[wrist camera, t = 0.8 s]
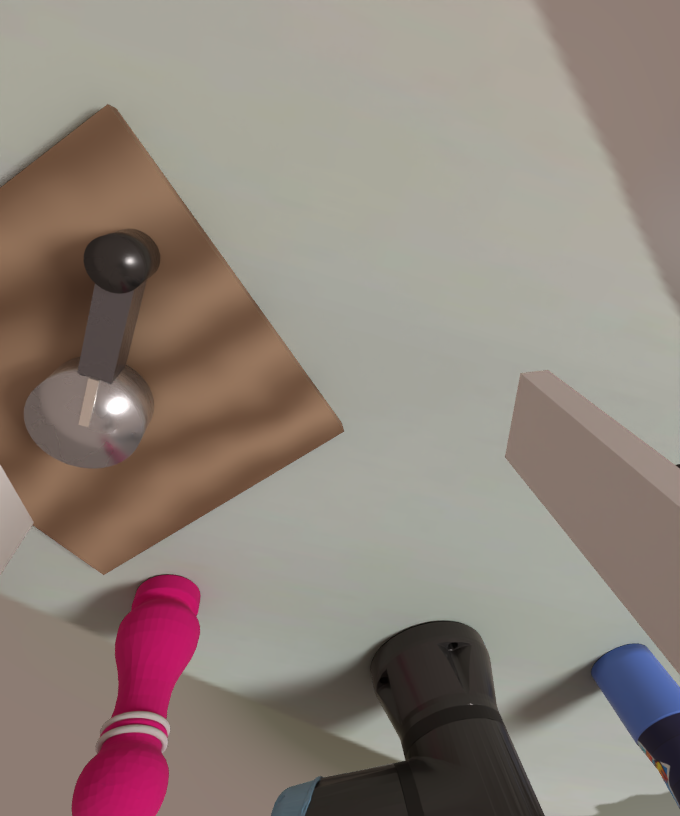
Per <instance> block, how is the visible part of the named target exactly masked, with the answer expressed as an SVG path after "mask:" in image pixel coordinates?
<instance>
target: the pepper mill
mask: <svg viewBox="0 0 680 816" xmlns="http://www.w3.org/2000/svg"><path fill="white" fill-rule="evenodd" d="M199 603H200V591H199V589H198V587H197V586H196V585H195V584H194V583H193V582H192V581H191V580H188V579H186V578H184V577H181V576H177V575H160V576H156V577H153V578H150V579H148V580H147V581H145V582H144V583H142V584H141V585H140V586H139V588H138V589H137V592H136V594H135V597H134V601H133V604H132V611H131V612H130V613H129V614H127V615H126V616H125V618H124V619H123V620H122V622H121V624H120V626H119V629H118V633H117V637H116V642H115V658H116V664H117V670H118V681H119V687H118V688H119V689H118V697H117V701H116V706H115V709H114V712H113V714H112V717H111V718H110V719H109V720H108V721H106V722H105V724H104V725H103V726H102V728H101V730H100V738H99V740H98V741H97V743H96V752H97V755H96V756H95V757H94V758H92V759H91V760H90V761H89V763H88V764H87V765H86V766H85V767H84V769H83V771H82V773H81V774H80V776H79V778H78V780H77V783H76V786H75V790H74V794H73V800H72V816H155V815H156V814H157V812H158V811H159V809H160V807H161V804H162V802H163V800H164V797H165V794H166V790H167V785H168V778H169V770H168V765H167V762H166V759H165V758H164V756H163V753H164V751H165V750H166V748H167V745H168V739H167V738H168V736H169V733H170V724H169V722H168V721H167V720H166V718H167V709H168V704H169V700H170V697H171V693H172V690H173V688H174V685H175V683H176V681H177V680H178V678H179V676H180V675H181V674H182V672H183V671H184V669H185V667H186V666H187V664H188V663H189V661H190V660H191V658H192V656H193V654H194V652H195V650H196V647H197V643H198V639H199V635H200V625H199V621H198V619H197V617H196V615H197V613H198V609H199Z"/></svg>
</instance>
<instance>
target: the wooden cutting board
mask: <svg viewBox="0 0 680 816" xmlns="http://www.w3.org/2000/svg"><path fill="white" fill-rule="evenodd" d="M129 228H130V229H137V230H140V231H142V232H144V233H146V234H147V235H148V236H150V237H151V238H152V239H153V241H154V242H155V243H156V245H157V247H158V249H159V252H160V265H159V268H158V270H157V271H156V273H155V274H154V275H152V276H151V277H150V278H149V279H147V282H146V286H145V290H144V294H143V298H142V302H141V306H140V310H139V314H138V318H137V322H136V326H135V330H134V334H133V339H132V343H131V347H130V351H129V355H128V359H127V363H126V364H127V365H128V366H130V367H132V368H133V369H134V370H135V371H137V372H138V373H139V374H140V375H141V376H142V377H143V378H144V380H145V381H146V382H147V384H148V386H149V387H150V390H151V392H152V395H153V398H154V412H153V416H152V419H151V421H150V423H149V425H148V427H147V429H146V431H145V433H144V435H143V437H142V439H141V441H140V443H139V445H138V447H137V448H136V450H135V451H134V452H133V454H132V455H130V456H129V457H128V458H127V459H125V460H124V461H122V462H120V463H118V464H116V465H113V466H109V467H105V468H91V469H90V468H81V467H75V466H72V465H68V464H66V463H63V462H61V461H59V460H57V459H55V458H53V457H51V456H50V455H48V454H47V453H46V452H44V451H43V450H42V449H41V448H40V447H39V446H38V445H37V444H36V443H35V442H34V440H33V439H32V438H31V436H30V434H29V433H28V430H27V428H26V425H25V421H24V407H25V403H26V400H27V398H28V396H29V395H30V393H31V392H32V391H33V390H34V389H35V388H36V387H37V386H38V385H39V384H40V383H42V382H43V381H44V380H45V379H46V378H47V377H48V376H50V375H51V374H52V373H53V372H54V371H55V370H56V369H58V368H59V367H60V366H61V365H62V364H64V363H65V362H67V361H69V360H71V359H74V358H76V357H80V356H81V351H82V346H83V341H84V336H85V331H86V326H87V321H88V316H89V311H90V306H91V301H92V296H93V291H94V286H95V283H94V282H93V281H92V280H91V278H90V277H89V275H88V274H87V272H86V269H85V266H84V259H83V257H84V252H85V249H86V247H87V245H88V244H89V243H90V242H91V241H92V240H93V239H95V238H97V237H100V236H103V235H107V234H110V233H113V232H116V231H119V230H123V229H129ZM342 432H344V429H343V426H342V423H341V421H340V420H339V418H338V417H337V416H336V414H335V413H334V411H333V410H332V409H331V407H330V406H329V404H328V403H327V402H326V400H325V399H324V397H323V396H322V395H321V393H320V392H319V390H318V389H317V388H316V386H315V385H314V383H313V382H312V381H311V379H310V378H309V377H308V375H307V374H306V372H305V371H304V370H303V368H302V367H301V365H300V364H299V363H298V361H297V360H296V358H295V357H294V356H293V354H292V353H291V351H290V350H289V349H288V347H287V346H286V344H285V343H284V342H283V340H282V339H281V337H280V336H279V335H278V333H277V332H276V330H275V329H274V328H273V326H272V325H271V324H270V322H269V321H268V319H267V318H266V317H265V315H264V314H263V312H262V311H261V310H260V308H259V307H258V305H257V304H256V303H255V301H254V300H253V298H252V297H251V296H250V294H249V293H248V291H247V290H246V289H245V287H244V286H243V284H242V283H241V282H240V280H239V279H238V278H237V276H236V275H235V273H234V272H233V271H232V269H231V268H230V266H229V265H228V264H227V262H226V261H225V259H224V258H223V257H222V255H221V254H220V252H219V251H218V250H217V248H216V247H215V245H214V244H213V243H212V241H211V240H210V238H209V237H208V236H207V234H206V233H205V232H204V230H203V229H202V227H201V226H200V225H199V223H198V222H197V220H196V219H195V218H194V216H193V215H192V213H191V212H190V211H189V209H188V208H187V206H186V205H185V204H184V202H183V201H182V199H181V198H180V197H179V195H178V194H177V192H176V191H175V190H174V188H173V187H172V185H171V184H170V183H169V181H168V180H167V179H166V177H165V176H164V174H163V173H162V172H161V170H160V169H159V167H158V166H157V165H156V163H155V162H154V160H153V159H152V158H151V156H150V155H149V153H148V152H147V151H146V149H145V148H144V146H143V145H142V144H141V142H140V141H139V139H138V138H137V137H136V135H135V134H134V133H133V131H132V130H131V128H130V127H129V126H128V124H127V123H126V121H125V120H124V119H123V117H122V116H121V114H120V113H119V112H118V110H117V109H116V108H114V107H112V106H110V105H108V104H107V105H106V106H105V107H104V108H102V109H101V110H100V111H98V112H97V113H96V114H95V115H93V116H92V117H91V118H89V119H88V120H87V121H86V122H84V123H83V124H82V125H80V126H79V127H78V128H77V129H75V130H74V131H73V132H71V133H70V134H69V135H68V136H66V137H65V138H64V139H62V140H61V141H60V142H59V143H57V144H56V145H55V146H53V147H52V148H51V149H50V150H48V151H47V152H46V153H44V154H43V155H42V156H41V157H39V158H38V159H37V160H35V161H34V162H33V163H32V164H30V165H29V166H28V167H26V168H25V169H24V170H23V171H21V172H20V173H19V174H17V175H16V176H15V177H14V178H12V179H11V180H10V181H8V182H7V183H6V184H5V185H3V186H2V187H1V188H0V465H1V467H2V468H3V470H4V472H5V474H6V475H7V477H8V479H9V481H10V482H11V484H12V486H13V487H14V489H15V491H16V493H17V494H18V496H19V498H20V499H21V501H22V503H23V505H24V506H25V508H26V510H27V512H28V513H29V515H30V517H31V518H32V520H33V522H34V523H33V526H35V527H36V528H38V529H39V530H41V531H42V532H43V533H45V534H46V535H48V536H49V537H51V538H52V539H53V540H55V541H56V542H58V543H59V544H60V545H62V546H63V547H65V548H66V549H68V550H69V551H70V552H72V553H73V554H75V555H76V556H78V557H79V558H80V559H82V560H83V561H85V562H86V563H87V564H89V565H90V566H92V567H93V568H95V569H96V570H97V571H99V572H100V573H102V574H103V575H104V574H106V573H108V572H109V571H111V570H113V569H114V568H116V567H118V566H119V565H121V564H123V563H124V562H126V561H128V560H130V559H131V558H133V557H135V556H136V555H138V554H140V553H141V552H143V551H145V550H146V549H148V548H150V547H151V546H153V545H155V544H156V543H158V542H160V541H161V540H163V539H165V538H166V537H168V536H170V535H171V534H173V533H175V532H176V531H178V530H180V529H181V528H183V527H185V526H186V525H188V524H190V523H192V522H193V521H195V520H197V519H198V518H200V517H202V516H203V515H205V514H207V513H208V512H210V511H212V510H213V509H215V508H217V507H218V506H220V505H222V504H223V503H225V502H227V501H228V500H230V499H232V498H233V497H235V496H237V495H238V494H240V493H242V492H243V491H245V490H247V489H248V488H250V487H252V486H253V485H255V484H257V483H259V482H260V481H262V480H264V479H265V478H267V477H269V476H270V475H272V474H274V473H275V472H277V471H279V470H280V469H282V468H284V467H285V466H287V465H289V464H290V463H292V462H294V461H295V460H297V459H299V458H300V457H302V456H304V455H305V454H307V453H309V452H310V451H312V450H314V449H315V448H317V447H319V446H321V445H322V444H324V443H326V442H327V441H329V440H331V439H332V438H334V437H336V436H337V435H339V434H341V433H342Z"/></svg>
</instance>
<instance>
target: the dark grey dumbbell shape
mask: <svg viewBox="0 0 680 816" xmlns="http://www.w3.org/2000/svg"><path fill="white" fill-rule="evenodd" d="M83 259H84V266H85V269H86V272H87V274H88V275H89V277H90V278H91V280H92V281H93V282H94V283H95V286H94V291H93V296H92V301H91V306H90V311H89V316H88V321H87V326H86V331H85V336H84V341H83V346H82V351H81V356H80V357H76V358H74V359H71V360H69V361H67V362H65V363H64V364H62V365H61V366H60V367H59V368H58V369H56V370H55V371H54V372H53V373H52V374H51V375H50V376H48V377H47V378H46V379H45V380H44V381H43V382H42V383H40V384H39V385H38V386H37V387H36V388H35V389H34V390H33V391H32V392H31V393H30V395H29V396H28V398H27V400H26V403H25V407H24V421H25V425H26V428H27V430H28V433H29V434H30V436H31V438H32V439H33V440H34V442H35V443H36V444H37V445H38V446H39V447H40V448H41V449H42V450H43V451H44V452H46V453H47V454H48V455H50V456H51V457H53V458H55V459H57V460H59V461H61V462H63V463H66V464H68V465H72V466H75V467H81V468H90V469H91V468H105V467H109V466H113V465H116V464H118V463H120V462H122V461H124V460H125V459H127V458H128V457H129V456H130V455H132V454H133V452H134V451H135V450H136V448H137V447H138V445H139V443H140V441H141V439H142V437H143V435H144V433H145V431H146V429H147V427H148V425H149V423H150V421H151V419H152V416H153V412H154V398H153V395H152V392H151V390H150V387H149V386H148V384H147V382H146V381H145V380H144V378H143V377H142V376H141V375H140V374H139V373H138V372H137V371H135V370H134V369H133V368H132V367H130V366H128V365H127V364H126V363H127V359H128V355H129V351H130V347H131V343H132V339H133V334H134V330H135V326H136V322H137V318H138V314H139V310H140V306H141V302H142V298H143V294H144V290H145V286H146V282H147V279H149V278H150V277H151V276H152V275H154V274H155V273H156V271H157V270H158V268H159V265H160V252H159V249H158V247H157V245H156V243H155V242H154V241H153V239H152V238H151V237H150V236H148V235H147V234H146V233H144V232H142V231H140V230H137V229H130V228H129V229H123V230H119V231H116V232H113V233H110V234H107V235H103V236H100V237H97V238H95V239H93V240H92V241H91V242H90V243H89V244H88V245H87V247H86V249H85V252H84V257H83Z"/></svg>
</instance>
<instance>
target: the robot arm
mask: <svg viewBox="0 0 680 816" xmlns="http://www.w3.org/2000/svg"><path fill="white" fill-rule="evenodd" d="M505 458H506V459H507V460H508V461H509V463H510V464H511V465H512V466H513V468H514V469H515V470H516V471H517V473H518V474H519V475H520V476H521V478H522V479H523V480H524V481H525V483H526V484H527V485H528V486H529V488H530V489H531V490H532V491H533V493H534V494H535V495H536V496H537V498H538V499H539V500H540V501H541V503H542V504H543V505H544V506H545V508H546V509H547V510H548V511H549V512H550V514H551V515H552V516H553V517H554V519H555V520H556V521H557V522H558V524H559V525H560V526H561V527H562V529H563V530H564V531H565V532H566V534H567V535H568V536H569V537H570V539H571V540H572V541H573V542H574V544H575V545H576V546H577V547H578V549H579V550H580V551H581V552H582V554H583V555H584V556H585V557H586V559H587V560H588V561H589V562H590V564H591V565H592V566H593V567H594V569H595V570H596V571H597V572H598V573H599V575H600V576H601V577H602V578H603V580H604V581H605V582H606V583H607V585H608V586H609V587H610V588H611V590H612V591H613V592H614V593H615V595H616V596H617V597H618V598H619V600H620V601H621V602H622V603H623V605H624V606H625V607H626V608H627V610H628V611H629V612H630V613H631V615H632V616H633V617H634V618H635V620H636V621H637V622H638V623H639V625H640V626H641V627H642V628H643V630H644V631H645V632H646V633H647V635H648V636H649V637H650V638H651V639H652V641H653V642H654V643H655V644H656V646H657V647H658V648H659V649H660V651H661V652H662V653H663V654H664V656H665V657H666V658H667V659H668V661H669V662H670V663H671V664H672V666H673V667H674V668H675V669H676V671H677V672H678V673H679V674H680V464H678V465H674V464H673V463H672V462H670V461H669V460H668V459H666V458H665V457H664V456H662V455H661V454H660V453H658V452H657V451H656V450H654V449H653V448H652V447H650V446H649V445H648V444H646V443H645V442H643V441H642V440H641V439H639V438H638V437H637V436H635V435H634V434H633V433H631V432H630V431H629V430H627V429H626V428H625V427H623V426H622V425H621V424H619V423H618V422H617V421H615V420H614V419H613V418H611V417H610V416H609V415H607V414H606V413H605V412H603V411H602V410H601V409H599V408H598V407H597V406H595V405H594V404H593V403H591V402H590V401H589V400H587V399H586V398H585V397H583V396H582V395H581V394H579V393H578V392H577V391H575V390H574V389H573V388H571V387H570V386H569V385H567V384H566V383H565V382H563V381H562V380H561V379H559V378H558V377H557V376H555V375H554V374H553V373H551V372H550V371H549V370H544V371H535V372H527V373H520V379H519V384H518V390H517V395H516V401H515V406H514V411H513V417H512V422H511V428H510V433H509V438H508V444H507V449H506V455H505ZM33 523H34V522H33V520H32V518H31V517H30V515H29V513H28V512H27V510H26V508H25V506H24V505H23V503H22V501H21V499H20V498H19V496H18V494H17V493H16V491H15V489H14V487H13V486H12V484H11V482H10V481H9V479H8V477H7V475H6V474H5V472H4V470H3V468H2V467H1V465H0V575H1V573H2V572H3V570H4V569H5V567H6V566H7V564H8V562H9V561H10V559H11V558H12V556H13V555H14V553H15V551H16V550H17V548H18V547H19V545H20V544H21V542H22V540H23V539H24V537H25V536H26V534H27V533H28V531H29V529H30V528H31V526H32V525H33ZM371 677H372V681H373V686H374V690H375V693H376V696H377V698H378V699H379V701H380V703H381V705H382V707H383V709H384V710H385V712H386V714H387V716H388V718H389V720H390V721H391V723H392V725H393V727H394V729H395V730H396V732H397V734H398V736H399V738H400V740H401V744H402V748H403V752H404V756H405V760H406V761H402V762H398V763H392V764H387V765H383V766H378V767H373V768H369V769H364V770H360V771H356V772H350V773H345V774H339V775H334V776H329V777H324V778H323V777H322V776H319V777H317V778H316V779H314V780H313V781H310V782H306V783H303V784H299V785H296V786H292V787H289V788H287V789H285V790H284V791H283V792H282V793H281V794H280V795H279V797H278V798H277V800H276V802H275V805H274V808H273V810H272V813H271V816H545V815H544V813H543V811H542V809H541V806H540V804H539V802H538V800H537V797H536V795H535V793H534V791H533V788H532V786H531V784H530V781H529V779H528V777H527V775H526V772H525V770H524V768H523V766H522V763H521V761H520V759H519V757H518V754H517V752H516V750H515V748H514V745H513V743H512V741H511V739H510V736H509V734H508V732H507V729H506V727H505V725H504V723H503V721H502V718H501V716H500V713H499V711H498V708H497V704H496V697H495V690H494V683H493V676H492V669H491V662H490V657H489V654H488V651H487V649H486V647H485V645H484V642H483V640H482V638H481V636H480V635H479V633H478V632H477V631H476V630H474V629H473V628H471V627H469V626H467V625H465V624H461V623H457V622H433V623H427V624H423V625H419V626H416V627H413V628H411V629H408V630H406V631H404V632H402V633H400V634H398V635H396V636H395V637H393V638H392V639H390V640H389V641H388V642H387V643H385V644H384V645H383V646H382V647H381V648H380V649H379V651H378V652H377V653H376V655H375V656H374V658H373V661H372V663H371Z"/></svg>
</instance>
